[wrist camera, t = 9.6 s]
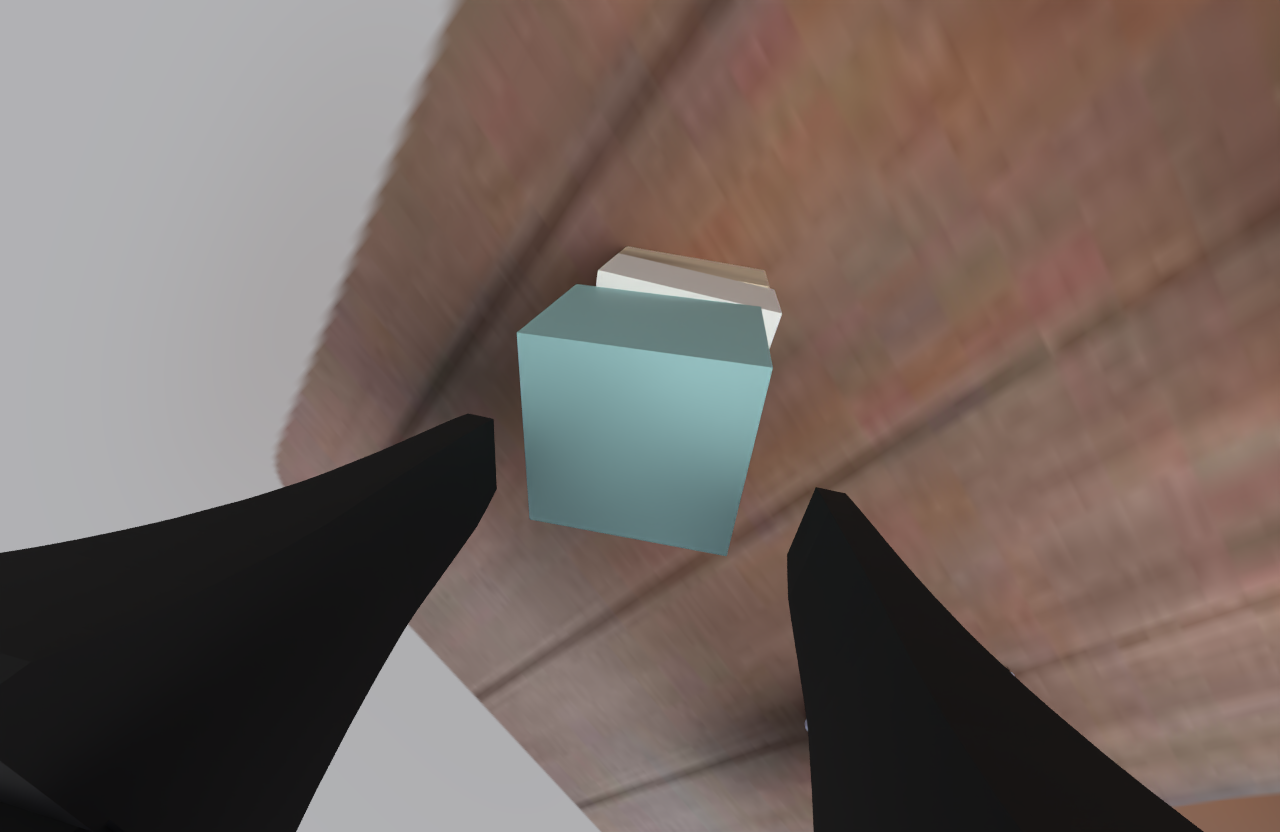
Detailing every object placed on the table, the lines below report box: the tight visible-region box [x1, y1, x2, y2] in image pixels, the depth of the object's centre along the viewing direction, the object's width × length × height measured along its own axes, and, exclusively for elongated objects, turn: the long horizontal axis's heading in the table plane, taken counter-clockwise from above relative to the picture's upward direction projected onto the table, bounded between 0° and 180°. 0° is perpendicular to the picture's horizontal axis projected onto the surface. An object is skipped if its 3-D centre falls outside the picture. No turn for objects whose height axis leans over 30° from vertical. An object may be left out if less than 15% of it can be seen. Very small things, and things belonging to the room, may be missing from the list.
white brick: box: [596, 253, 782, 348], centre depth 14 cm, size 5×5×2 cm
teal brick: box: [517, 284, 773, 556], centre depth 12 cm, size 5×5×4 cm
